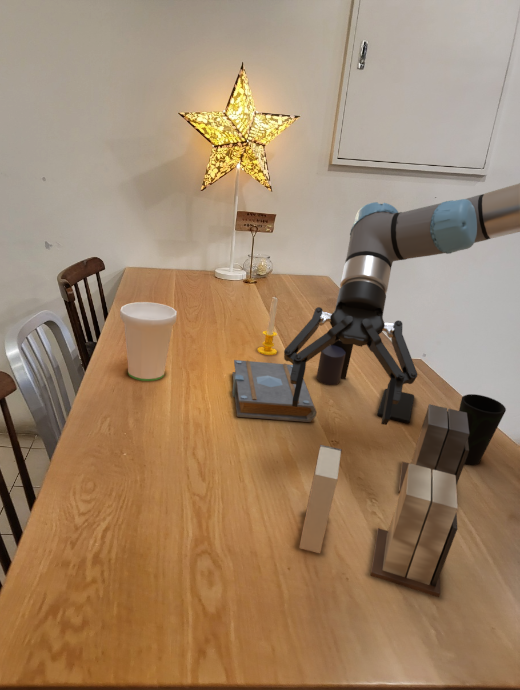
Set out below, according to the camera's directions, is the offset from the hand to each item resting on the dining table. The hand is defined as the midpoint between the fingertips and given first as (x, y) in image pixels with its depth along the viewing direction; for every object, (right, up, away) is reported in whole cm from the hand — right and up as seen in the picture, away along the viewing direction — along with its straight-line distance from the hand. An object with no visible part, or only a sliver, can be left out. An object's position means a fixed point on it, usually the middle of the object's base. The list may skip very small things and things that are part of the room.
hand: (339, 413), depth 81 cm
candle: (-5, +15, +64) cm, 66 cm away
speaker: (+9, +6, +51) cm, 52 cm away
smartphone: (+22, 0, +41) cm, 47 cm away
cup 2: (+30, -9, +24) cm, 39 cm away
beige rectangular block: (-4, -18, -1) cm, 19 cm away
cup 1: (-35, +8, +44) cm, 57 cm away
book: (-7, +2, +39) cm, 40 cm away
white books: (+9, -21, -4) cm, 23 cm away
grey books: (+18, -13, +14) cm, 26 cm away
